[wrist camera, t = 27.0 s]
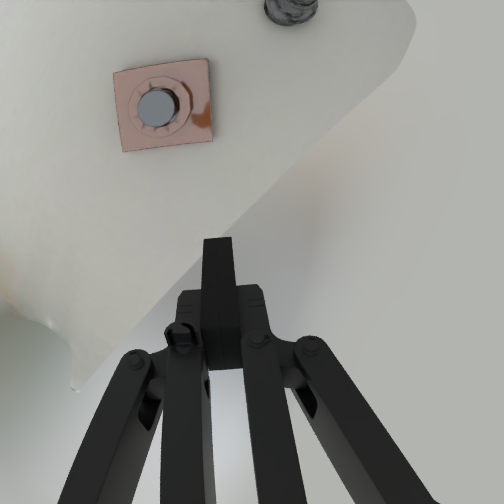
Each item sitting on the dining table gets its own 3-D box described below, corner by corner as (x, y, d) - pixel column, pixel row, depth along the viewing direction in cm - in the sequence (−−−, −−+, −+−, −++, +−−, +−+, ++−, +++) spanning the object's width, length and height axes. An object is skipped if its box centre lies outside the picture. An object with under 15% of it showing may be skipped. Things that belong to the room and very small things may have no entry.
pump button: (175, 86, 29) (173, 87, 27) (178, 121, 31) (176, 124, 29) (140, 92, 28) (135, 93, 27) (143, 126, 30) (139, 129, 29)
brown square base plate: (208, 59, 31) (207, 57, 27) (213, 136, 36) (212, 145, 32) (120, 72, 30) (107, 73, 26) (129, 146, 36) (117, 157, 32)
